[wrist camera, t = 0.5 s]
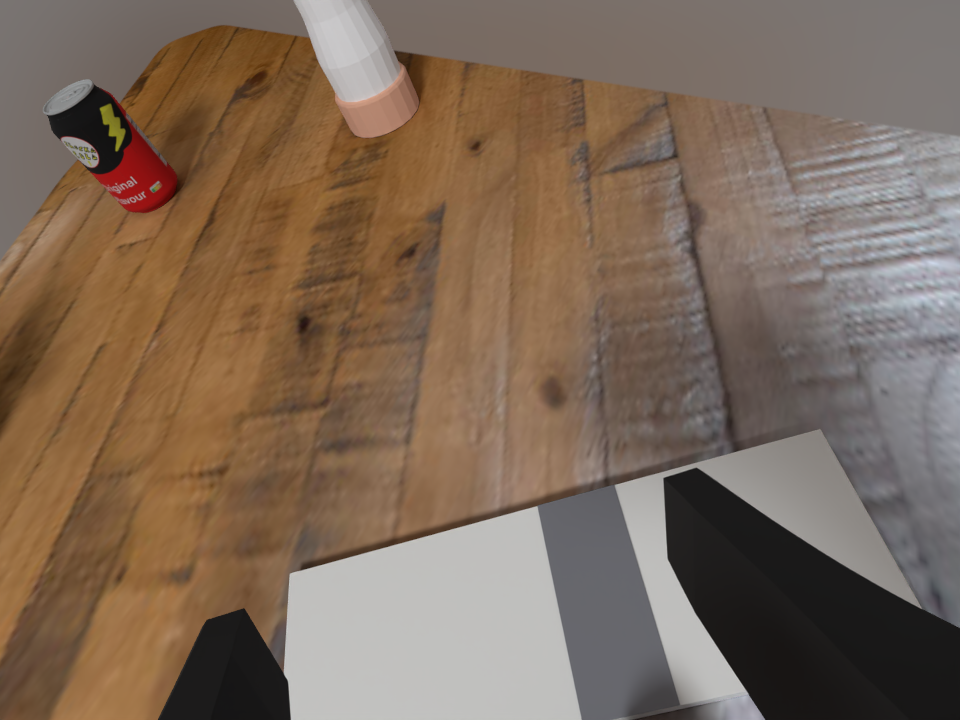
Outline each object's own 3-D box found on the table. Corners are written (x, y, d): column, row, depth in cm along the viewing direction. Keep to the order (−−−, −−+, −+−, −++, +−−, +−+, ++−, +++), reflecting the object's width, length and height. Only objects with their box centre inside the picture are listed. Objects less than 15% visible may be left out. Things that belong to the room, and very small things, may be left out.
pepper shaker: (389, 142, 60) (277, -85, 46) (337, 134, 64) (219, -77, 50) (433, 94, 63) (340, -134, 49) (381, 89, 67) (280, -123, 53)
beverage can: (126, 201, 70) (34, 103, 61) (176, 170, 71) (94, 68, 62) (135, 227, 66) (38, 125, 57) (188, 193, 67) (101, 88, 58)
